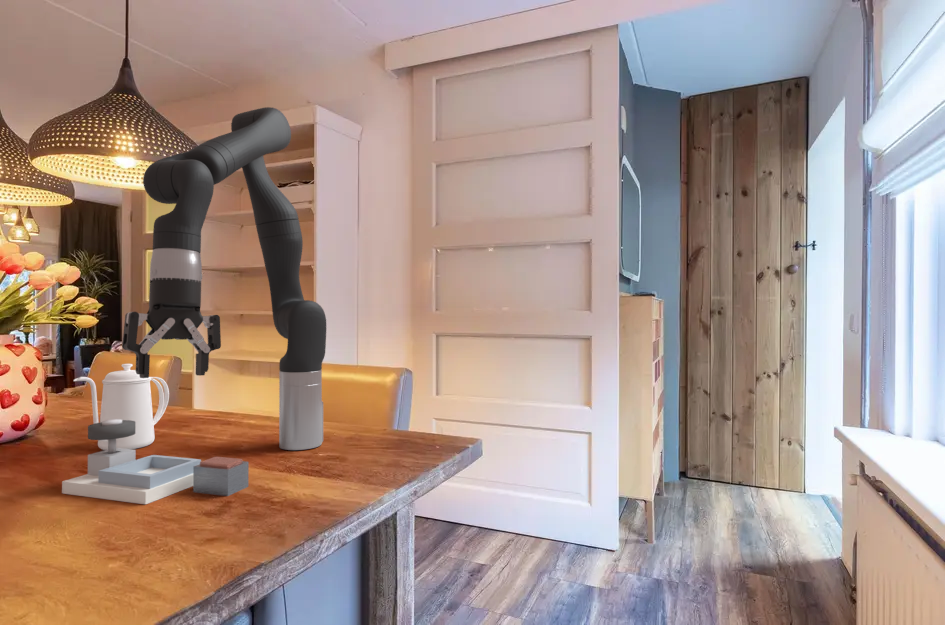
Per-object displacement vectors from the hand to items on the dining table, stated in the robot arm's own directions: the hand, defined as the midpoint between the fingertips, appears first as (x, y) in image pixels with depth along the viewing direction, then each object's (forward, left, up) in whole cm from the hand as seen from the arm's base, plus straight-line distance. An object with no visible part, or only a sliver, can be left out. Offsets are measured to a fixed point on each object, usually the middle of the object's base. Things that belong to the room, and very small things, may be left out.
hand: (173, 376), depth 88 cm
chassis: (-3, -10, -20) cm, 22 cm away
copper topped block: (-6, +5, -20) cm, 21 cm away
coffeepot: (-24, -38, -20) cm, 49 cm away
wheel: (-3, -16, -15) cm, 22 cm away
